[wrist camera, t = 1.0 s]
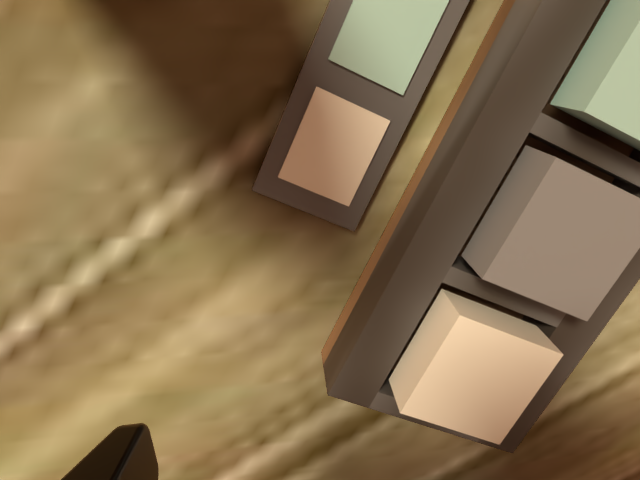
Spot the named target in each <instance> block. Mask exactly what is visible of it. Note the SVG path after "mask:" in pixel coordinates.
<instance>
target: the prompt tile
mask: <svg viewBox="0 0 640 480" xmlns="http://www.w3.org/2000/svg"><path fill="white" fill-rule="evenodd" d="M469 1H470V0H330V1H329V3H328V5H327V8H326V10H325V13H324V15H323V18H322V20H321V22H320V25H319V27H318V30H317V32H316V35H315V37H314V39H313V42H312V44H311V47H310V49H309V51H308V54H307V56H306V59H305V61H304V64H303V66H302V68H301V71H300V73H299V76H298V78H297V81H296V83H295V85H294V88H293V90H292V93H291V95H290V97H289V100H288V102H287V105H286V107H285V110H284V112H283V114H282V117H281V119H280V122H279V124H278V127H277V129H276V131H275V134H274V136H273V139H272V141H271V143H270V146H269V148H268V151H267V153H266V156H265V158H264V160H263V163H262V165H261V168H260V170H259V173H258V175H257V177H256V180H255V182H254V185H253V187H252V191H255V192H257V193H259V194H262V195H264V196H267V197H269V198H272V199H274V200H277V201H279V202H282V203H284V204H287V205H289V206H292V207H294V208H297V209H299V210H302V211H304V212H307V213H309V214H312V215H314V216H317V217H319V218H322V219H324V220H327V221H329V222H332V223H334V224H337V225H339V226H342V227H344V228H347V229H349V230H352V231H355V229H356V227H357V225H358V223H359V221H360V219H361V217H362V215H363V213H364V211H365V209H366V207H367V205H368V203H369V201H370V199H371V197H372V195H373V193H374V191H375V189H376V187H377V185H378V183H379V181H380V179H381V177H382V175H383V173H384V171H385V169H386V167H387V165H388V163H389V161H390V159H391V157H392V155H393V153H394V151H395V149H396V147H397V145H398V143H399V141H400V139H401V137H402V135H403V133H404V131H405V129H406V127H407V125H408V123H409V121H410V119H411V117H412V115H413V113H414V111H415V109H416V107H417V105H418V103H419V101H420V99H421V97H422V95H423V93H424V91H425V89H426V87H427V85H428V83H429V81H430V79H431V77H432V75H433V73H434V71H435V69H436V67H437V65H438V63H439V61H440V59H441V57H442V55H443V53H444V51H445V49H446V47H447V45H448V43H449V41H450V39H451V37H452V35H453V33H454V31H455V29H456V27H457V25H458V23H459V21H460V19H461V17H462V15H463V13H464V11H465V9H466V7H467V5H468V3H469Z"/></svg>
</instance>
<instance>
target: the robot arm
mask: <svg viewBox="0 0 640 480" xmlns="http://www.w3.org/2000/svg"><path fill="white" fill-rule="evenodd" d="M61 480H158V463H157V459H156V455H155V451H154V447H153V443H152V439H151V435H150V431H149V428H148V427H147V425H145V424H143V423H139V424H130V425H122V426H119V427H117V428H116V429H114V430H113V431H112V432H111V433H110V434H109V435H108V436H107V437H106V438H105V439H104V440H102V441H101V442H100V443H99V444H98V445H97V446H96V447H95V448H94V449H93V450H92V451H91V452H90V453H89V454H88V455H87V456H86V457H84V458H83V459H82V460H81V461H80V462H79V463H78V464H77V465H76V466H75V467H74V468H73V469H72V470H71V471H70V472H69V473H67V474H66V475H65V476H64V477H63V478H62V479H61Z"/></svg>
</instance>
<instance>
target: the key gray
mask: <svg viewBox="0 0 640 480" xmlns="http://www.w3.org/2000/svg"><path fill="white" fill-rule="evenodd" d="M639 248H640V198H639V197H637V196H635V195H632V194H630V193H628V192H626V191H624V190H622V189H620V188H618V187H616V186H614V185H612V184H610V183H608V182H606V181H604V180H602V179H600V178H598V177H596V176H594V175H592V174H590V173H588V172H586V171H583V170H581V169H579V168H577V167H575V166H573V165H571V164H569V163H567V162H565V161H563V160H561V159H559V158H557V157H555V156H552V155H550V154H547V153H544V152H542V151H539V150H537V149H534V148H532V147H529V146H527V145H526V146H525V147H524V149H523V151H522V153H521V154H520V156H519V158H518V159H517V161H516V163H515V164H514V166H513V168H512V170H511V171H510V173H509V175H508V176H507V178H506V180H505V182H504V183H503V185H502V187H501V188H500V190H499V192H498V194H497V195H496V197H495V199H494V200H493V202H492V204H491V205H490V207H489V209H488V211H487V212H486V214H485V216H484V217H483V219H482V221H481V223H480V224H479V226H478V228H477V229H476V231H475V233H474V235H473V236H472V238H471V240H470V241H469V243H468V245H467V246H466V248H465V250H464V252H463V253H462V255H461V256H462V257H463V258H464V259H465V260H466V261H467V263H468V264H469V265H470V266H471V267H472V268H473V269H474V271H475V272H476V273H477V274H478V275H479V276H480V277H481V278H482V279H483V280H486V281H488V282H491V283H493V284H496V285H498V286H500V287H503V288H505V289H508V290H510V291H513V292H515V293H518V294H520V295H523V296H525V297H528V298H530V299H533V300H535V301H538V302H540V303H543V304H545V305H548V306H550V307H552V308H555V309H557V310H560V311H562V312H565V313H567V314H570V315H572V316H575V317H577V318H580V319H582V320H585V321H588V320H589V318H590V317H591V316H592V314H593V313H594V311H595V310H596V309H597V307H598V306H599V304H600V303H601V301H602V300H603V299H604V297H605V296H606V294H607V293H608V292H609V290H610V289H611V287H612V286H613V285H614V283H615V282H616V280H617V279H618V278H619V276H620V275H621V273H622V272H623V271H624V269H625V268H626V266H627V265H628V264H629V262H630V261H631V259H632V258H633V256H634V255H635V254H636V252H637V251H638V249H639Z"/></svg>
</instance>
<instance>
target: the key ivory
mask: <svg viewBox="0 0 640 480" xmlns="http://www.w3.org/2000/svg"><path fill="white" fill-rule="evenodd" d="M562 356H563V353H562V352H561V351H560V350H559V349H558V348H557V347H556V346H555V345H554V344H553V343H552V342H551V341H550V340H549V338H548V337H547V336H546V335H545V334H544V333H543V332H542V331H541V330H540V329H539V328H538V327H537V326H536V325H533V324H531V323H528V322H526V321H523V320H521V319H518V318H515V317H513V316H510V315H508V314H505V313H503V312H500V311H498V310H495V309H492V308H490V307H487V306H485V305H482V304H480V303H477V302H474V301H472V300H469V299H467V298H464V297H462V296H459V295H457V294H454V293H451V292H449V291H446V290H444V289H441V291H440V293H439V294H438V296H437V298H436V299H435V301H434V303H433V305H432V306H431V308H430V310H429V311H428V313H427V315H426V317H425V318H424V320H423V322H422V323H421V325H420V327H419V328H418V330H417V332H416V334H415V335H414V337H413V339H412V340H411V342H410V344H409V346H408V347H407V349H406V351H405V352H404V354H403V356H402V357H401V359H400V361H399V363H398V364H397V366H396V368H395V369H394V371H393V373H392V375H391V376H390V378H389V382H390V385H391V388H392V391H393V394H394V397H395V400H396V403H397V406H398V409H399V412H400V413H401V414H404V415H407V416H410V417H414V418H417V419H420V420H423V421H426V422H429V423H432V424H436V425H439V426H442V427H445V428H448V429H451V430H455V431H458V432H461V433H464V434H467V435H470V436H473V437H477V438H480V439H483V440H486V441H489V442H492V443H495V444H499V445H500V443H501V442H502V441H503V439H504V438H505V436H506V435H507V434H508V432H509V431H510V429H511V428H512V427H513V425H514V424H515V422H516V421H517V420H518V418H519V417H520V415H521V414H522V413H523V411H524V410H525V408H526V407H527V406H528V404H529V403H530V401H531V400H532V398H533V397H534V396H535V394H536V393H537V391H538V390H539V389H540V387H541V386H542V384H543V383H544V382H545V380H546V379H547V377H548V376H549V375H550V373H551V372H552V370H553V369H554V368H555V366H556V365H557V363H558V362H559V361H560V359H561V358H562Z"/></svg>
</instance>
